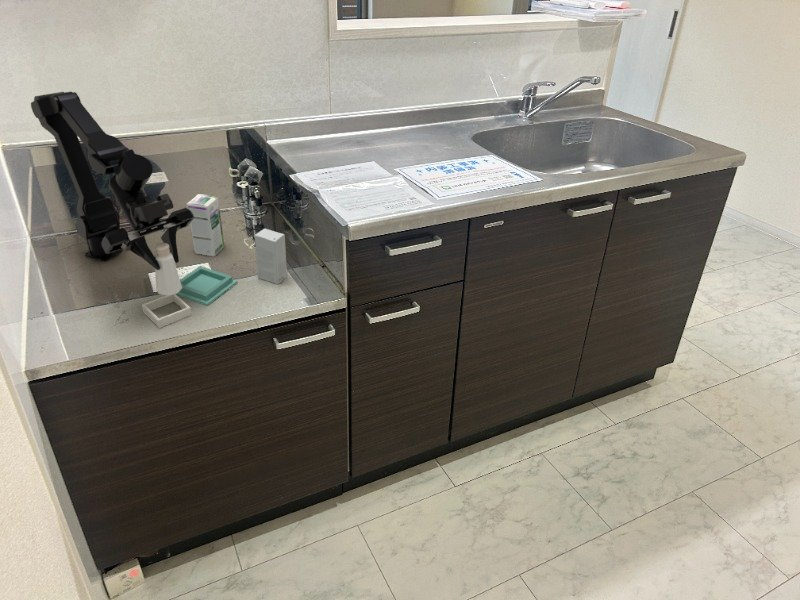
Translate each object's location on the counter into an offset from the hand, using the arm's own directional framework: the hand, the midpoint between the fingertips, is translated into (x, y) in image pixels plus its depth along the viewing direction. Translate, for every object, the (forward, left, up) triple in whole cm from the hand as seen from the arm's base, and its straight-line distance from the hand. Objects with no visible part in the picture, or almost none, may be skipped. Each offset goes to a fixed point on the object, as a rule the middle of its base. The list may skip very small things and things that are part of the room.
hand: (168, 265), depth 127 cm
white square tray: (-2, -1, -12) cm, 12 cm away
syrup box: (-9, +26, -12) cm, 30 cm away
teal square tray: (-1, +11, -12) cm, 16 cm away
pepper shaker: (-1, +1, -7) cm, 7 cm away
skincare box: (+11, +22, -12) cm, 28 cm away
